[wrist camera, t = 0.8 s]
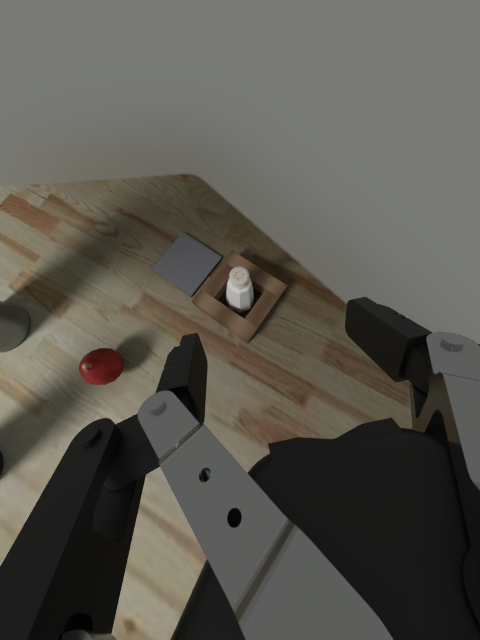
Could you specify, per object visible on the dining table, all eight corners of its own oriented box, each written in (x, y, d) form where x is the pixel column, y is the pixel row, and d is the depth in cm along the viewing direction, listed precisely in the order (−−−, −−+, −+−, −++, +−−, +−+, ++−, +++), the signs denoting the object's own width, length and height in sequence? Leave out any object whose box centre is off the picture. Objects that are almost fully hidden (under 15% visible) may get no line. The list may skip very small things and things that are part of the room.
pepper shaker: (220, 299, 39) (211, 275, 28) (239, 281, 39) (239, 249, 29) (240, 319, 38) (239, 301, 27) (260, 299, 39) (266, 274, 28)
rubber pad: (152, 269, 40) (151, 268, 40) (183, 233, 42) (182, 231, 41) (191, 297, 39) (190, 296, 38) (222, 258, 40) (221, 257, 40)
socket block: (196, 307, 38) (191, 301, 35) (233, 260, 40) (232, 250, 37) (248, 343, 37) (248, 341, 33) (283, 292, 39) (287, 285, 35)
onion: (98, 382, 36) (57, 387, 28) (103, 349, 37) (66, 345, 29) (130, 383, 36) (99, 388, 28) (134, 350, 37) (106, 346, 29)
